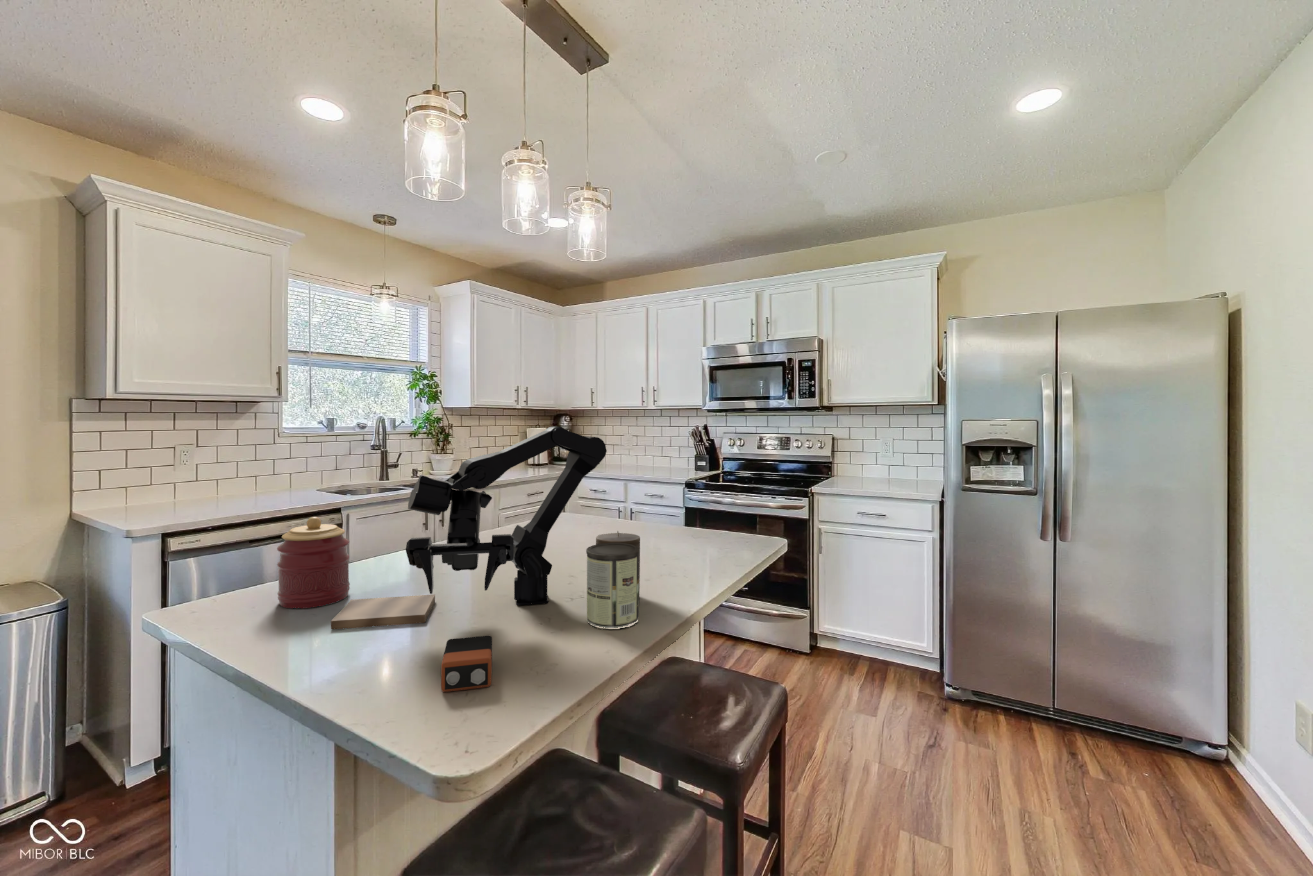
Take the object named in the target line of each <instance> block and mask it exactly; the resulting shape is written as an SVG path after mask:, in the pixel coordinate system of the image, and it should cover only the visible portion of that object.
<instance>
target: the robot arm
mask: <svg viewBox="0 0 1313 876" xmlns="http://www.w3.org/2000/svg"><path fill="white" fill-rule="evenodd" d="M555 447H558V448H560V449H562V450H564V451H567V452H568V453H567V455H566V456H567V457H566V462H565V466H564V469H563V470H562V472H561V473H560V475H559V476H558V478H557V479H556V481H555V483H554V484H553V485H552V487H551V489H550V490H549V492H548V493H547V495H546V497H545V499H544V500H543V501H542V502H541V504H540V506H539V508H538V509H537V510H536V512H535V514H534V515H533V516H532V518H531V520H529V522H528V523H527V524H526V525H524V526H523V527H522V526H521V525H520V524H516V525H515V528H514V529H513V532H512V534H511V533H507V534H506V533H504V534H492V535H491V541H490V542H481V539H480V527H481V526H480V523H481V512H482V511H481V509H482V508H483V509H485V508H487V507H488V505H489V504H490V502H491V501H492V499H493V497H492V496H491V495H490V494H489V493H486V491H485V490H482V491H476V490H481V489H484V488H485V489H486V488H487V487H488V486H490V485H491V484H493V483H494V482H495V481H497V480H498V479H500V478H501V477H502V476H503V475H504V474H505V473H507V472H508V471H509V470H511V468H513V467H516V466H518V465H520V464H522V463H524V462H526V461H528V460H530V459H533V458H534V457H536V456H539V455H541V454H543V453H545V452H547V451H549V450H551V449H553V448H555ZM606 447H607V446H606V443H605V442H604V440H603V439H602V438H600V437H598V436H597V437H596V436H589V435H581V434H578V433H575V432H572V431H570V430H568V429H565V428H563V427H561V426H549V427H547V428H546V429H545V430H542V431H541V432H538V433H536V434H534V435H532V436H530V437H528V438H525V439H523V440H521V441H519V442H517V443H514V444H513V445H510V446H508V447H506V448H504V449H502V450H500V451H496V452H492V453H491V452H490V453H487V454H482V455H479V456H474V457H470V458H468V459H466V460H464V461H462V462H461V464H460V466H459V469H458V471H456V472H455V473H454V474H452V475H451V476H449V478H447V479H445V480H444V481H443V480H439V479H436V478H435V479H434V478H431V477H429V476H427V475H422V474H420V475H419V476H418V479H417V480H416V482H415V484H414V486H413V489H412V490H411V491H410V494H409V499H408V504H407V509H408V510H410V511H415V512H418V513H419V512H420V513H425V514H429V515H430V514H431V515H433V516H434V515H435V516H440V515H441V513H445V512H447V511H448V509H449V507H450V510H449V518H448V527H447V535H446V537H447V538H446V543H437V544H436V543H433V541H432V537H431V536H430V537H429V536H427V537H410V539H408V540H407V542H406V547H405V553H406V556H407V560H408V564H409V565H410V566H413V567H416V568H417V569H420V570H421V569H422V571H423V572H424V575H425V578H426V582H427V586H428V591H429V595H433V592H434V567H435V565H434V556H441V564H447V566H451V569H452V570H453V571H456V572H460V571H475V570H476V569H477V568H478V567H479V566H478V565H479V556H480V554H488V556H487V557H488V558H487V561H486V562H487V563H486V568H485V569H486V570H485V575H484V576H485V577H484V591H488V589H489V587H490V584H491V582H492V579H493V577H494V575H495V573H496V571H497V570H498V568H499V567H500V566H502V565H505V564H506V563H507V562H512V563H513V564H514V566H515V568H516V569H517V570H516V571H517V574H516V576H517V577H516V576H515V577H514V580H513V590H514V591H513V592H514V593H513V594H514V595H513V596H514V597H513V598H514V600H515V601H516V602H515V603H516V606H525V605H528V606H529V605H540V604H541V605H545V604H548V603H549V597H548V576H549V575H550V574H551V572H552V567H553V565H552V563H550V561H548V559H546V558H545V557H544V556H543V554H544V552H545V550H546V547H547V542H548V537H549V533H550V531H551V529H552V527H553V526H554V524H555V523H556V522H557V521H558V518H559V517H560V515H561V514H562V512H563V510H564V509H565V507H566V506H567V504H568V502H569V501H570V499H571V498H572V496H573V495H574V493H575V492H576V490H577V489H578V487H579V485H580V484H581V482H582V480H583V479H584V477H586V476H587V475H588V474H590V473H591V472H592V471H594V470H595V469H596V468H598V467H597V466H598V465H600V463H601V462H602V461H604V459H605V457H606V454H607V450H608V449H607V448H606ZM472 488H473V489H476V490H472Z"/></svg>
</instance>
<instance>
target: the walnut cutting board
mask: <svg viewBox="0 0 1313 876" xmlns="http://www.w3.org/2000/svg"><path fill="white" fill-rule="evenodd" d="M435 602H436V594H422V595H420V594H419V595H407V596H406V595H405V596H390V597H389V596H388V597H387V596H386V597H374V598H358V599H357V598H356V599H354V598H353V599H350V600H349V601H348V602H347V603H346V605H345V606H344V607H343V608H342V609H341V610H340V611H339V612H338V613H337V614H336V615H335V616H334V617H333V618H332V619H331V620H330V629H333V630H345V628H347V629H357V628H358V629H360V628H371V627H372V626H375V627H384V626H385V627H386V626H387V625H388V626H399V625H400V626H401V625H413V624H425V623H426V621H427V619H428V617H429V615H430V614H431V611H432V609H433V607H434V605H435ZM343 628H344V629H343ZM372 628H373V627H372Z"/></svg>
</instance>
